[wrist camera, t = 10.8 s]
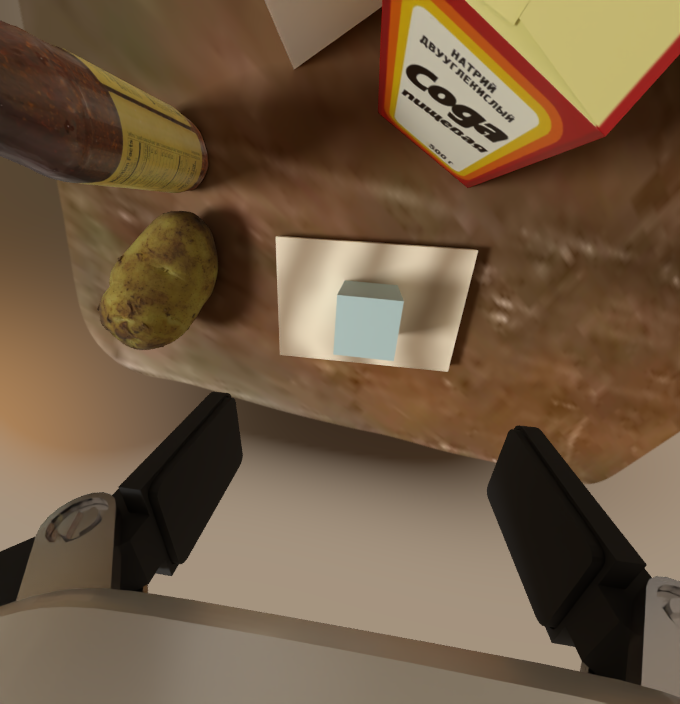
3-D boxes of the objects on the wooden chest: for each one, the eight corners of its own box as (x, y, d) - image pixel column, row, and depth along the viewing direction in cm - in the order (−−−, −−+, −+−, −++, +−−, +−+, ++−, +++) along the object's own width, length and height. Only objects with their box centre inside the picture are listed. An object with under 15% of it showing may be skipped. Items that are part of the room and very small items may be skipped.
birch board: (472, 248, 26) (478, 250, 24) (444, 365, 31) (447, 371, 29) (280, 235, 27) (275, 236, 26) (283, 349, 32) (279, 354, 31)
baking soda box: (378, 112, 22) (385, -90, 8) (434, 13, 20) (601, -562, 5) (467, 188, 24) (613, 133, 9) (531, 104, 21) (871, -151, 7)
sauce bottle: (131, 133, 25) (-503, -101, 7) (186, 95, 23) (-453, -343, 5) (175, 209, 27) (-215, 183, 9) (228, 179, 25) (-120, 75, 8)
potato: (257, 270, 29) (218, 286, 21) (185, 340, 33) (132, 373, 26) (195, 199, 27) (128, 191, 19) (127, 285, 31) (51, 304, 24)
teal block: (397, 285, 26) (403, 301, 21) (389, 334, 28) (393, 361, 23) (344, 280, 27) (337, 294, 21) (340, 329, 29) (333, 354, 23)
